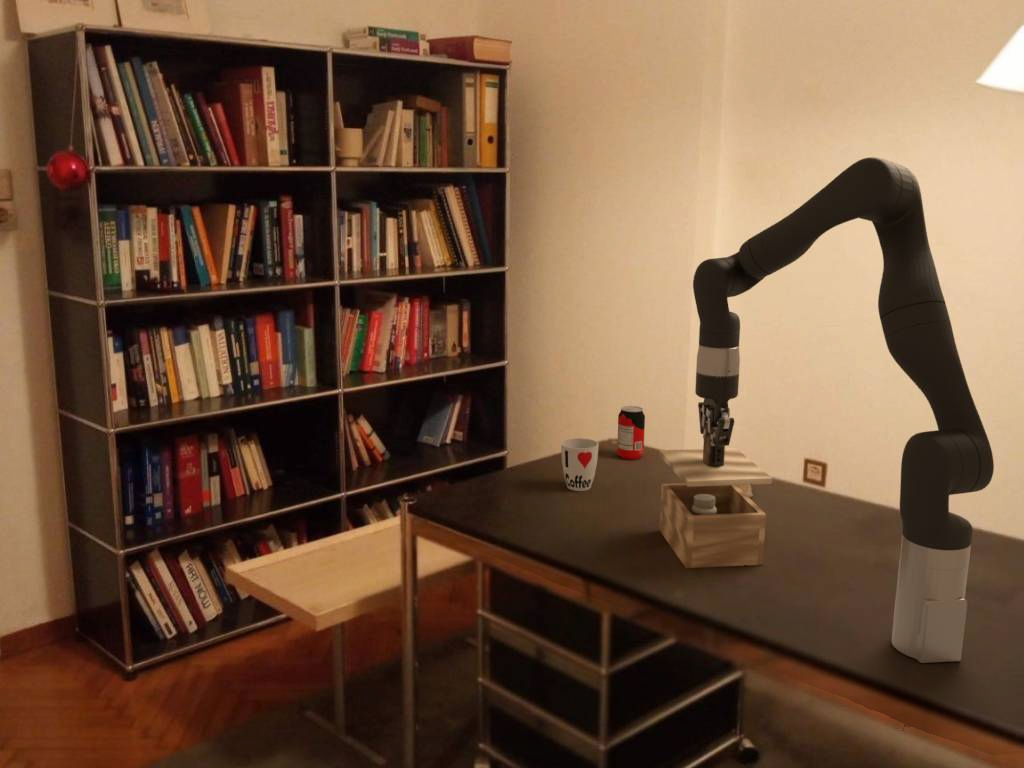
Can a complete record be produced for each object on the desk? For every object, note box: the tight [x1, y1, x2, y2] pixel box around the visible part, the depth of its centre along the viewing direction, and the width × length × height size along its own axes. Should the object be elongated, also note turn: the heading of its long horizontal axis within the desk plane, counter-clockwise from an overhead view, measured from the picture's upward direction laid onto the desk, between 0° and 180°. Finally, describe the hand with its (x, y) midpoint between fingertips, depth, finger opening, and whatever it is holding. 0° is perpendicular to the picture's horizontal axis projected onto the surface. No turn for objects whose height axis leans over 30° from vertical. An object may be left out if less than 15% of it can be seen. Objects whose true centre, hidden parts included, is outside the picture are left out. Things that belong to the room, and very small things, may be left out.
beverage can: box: [616, 405, 646, 461], centre depth 238 cm, size 6×6×12 cm
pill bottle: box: [691, 494, 717, 515], centre depth 188 cm, size 5×5×8 cm
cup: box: [560, 437, 600, 492], centre depth 217 cm, size 8×8×10 cm
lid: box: [658, 435, 773, 487], centre depth 181 cm, size 19×15×6 cm
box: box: [659, 482, 767, 569], centre depth 184 cm, size 18×14×10 cm
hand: (713, 462), depth 181 cm, fingers closed on lid, 3 cm apart
